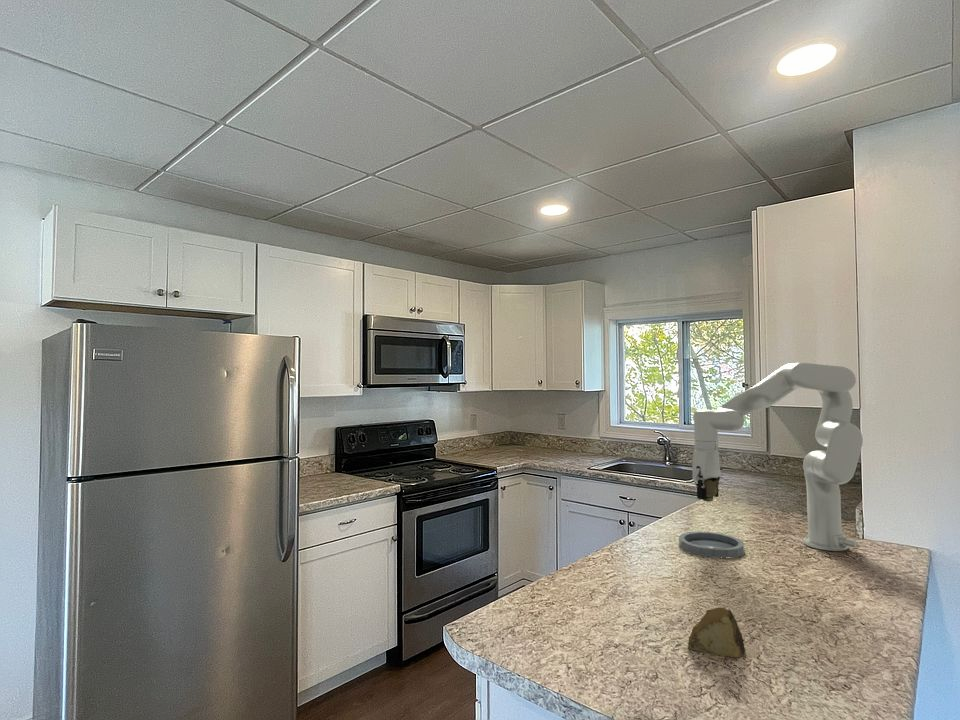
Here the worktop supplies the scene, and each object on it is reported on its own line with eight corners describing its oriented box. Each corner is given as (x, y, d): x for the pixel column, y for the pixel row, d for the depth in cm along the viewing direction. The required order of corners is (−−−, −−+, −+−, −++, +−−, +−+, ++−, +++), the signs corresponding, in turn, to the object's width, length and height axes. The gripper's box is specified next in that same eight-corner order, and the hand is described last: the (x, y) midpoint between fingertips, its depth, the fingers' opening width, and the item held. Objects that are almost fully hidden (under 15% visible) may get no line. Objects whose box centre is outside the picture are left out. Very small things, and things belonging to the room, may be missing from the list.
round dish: (756, 549, 172) (756, 541, 172) (724, 562, 160) (724, 554, 160) (699, 535, 188) (699, 528, 188) (666, 546, 176) (666, 538, 176)
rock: (676, 641, 108) (724, 652, 101) (682, 599, 113) (729, 607, 106) (699, 659, 113) (747, 671, 106) (704, 618, 118) (751, 627, 111)
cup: (721, 503, 176) (720, 480, 176) (698, 503, 178) (697, 479, 178) (717, 498, 183) (716, 475, 183) (694, 498, 185) (693, 475, 185)
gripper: (710, 442, 189) (712, 492, 188) (681, 446, 179) (683, 499, 179) (730, 444, 183) (732, 496, 182) (701, 448, 173) (703, 503, 172)
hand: (707, 497), depth 180 cm, fingers closed on cup, 6 cm apart
